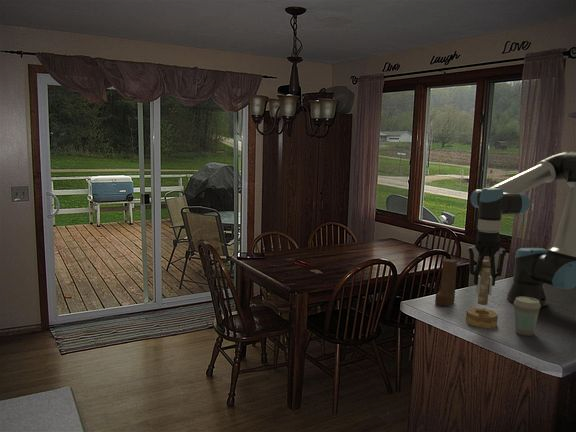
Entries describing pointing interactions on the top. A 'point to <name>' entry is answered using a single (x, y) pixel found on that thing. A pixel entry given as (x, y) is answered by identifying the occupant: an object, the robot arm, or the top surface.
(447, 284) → the wooden block
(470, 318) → the tan faceted ring
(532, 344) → the top surface
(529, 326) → the coffee cup
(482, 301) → the wooden dowel
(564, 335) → the top surface
